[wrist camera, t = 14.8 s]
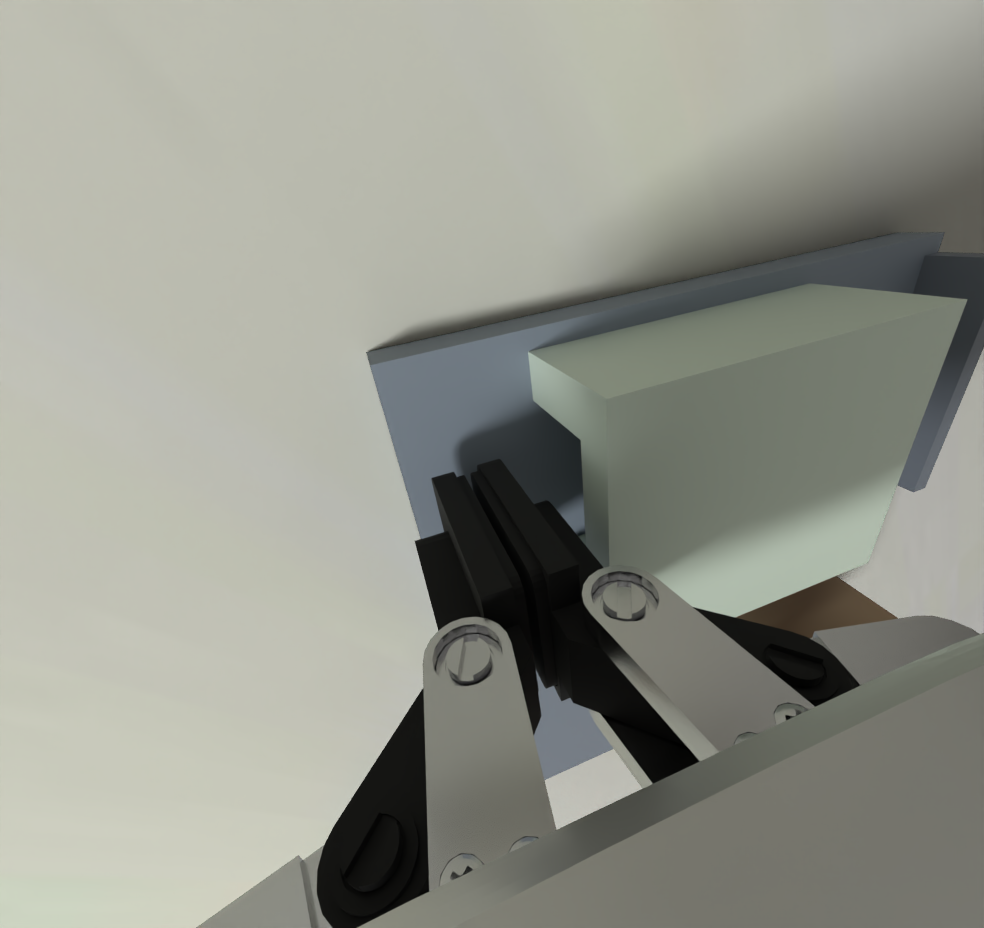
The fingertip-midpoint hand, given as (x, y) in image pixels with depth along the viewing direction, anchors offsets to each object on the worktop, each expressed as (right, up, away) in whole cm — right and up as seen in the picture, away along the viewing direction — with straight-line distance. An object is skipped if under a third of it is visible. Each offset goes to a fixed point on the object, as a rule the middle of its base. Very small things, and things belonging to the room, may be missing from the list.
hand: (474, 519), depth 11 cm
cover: (+6, +2, +2) cm, 6 cm away
